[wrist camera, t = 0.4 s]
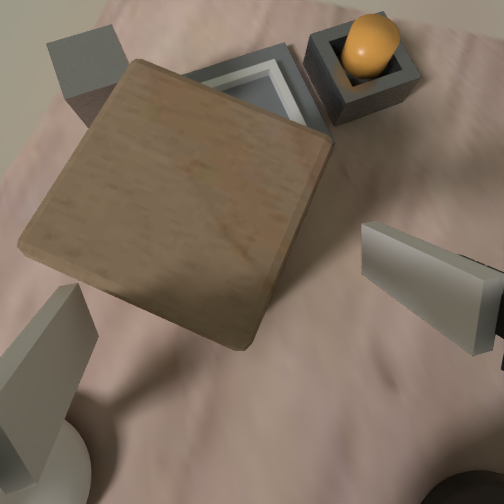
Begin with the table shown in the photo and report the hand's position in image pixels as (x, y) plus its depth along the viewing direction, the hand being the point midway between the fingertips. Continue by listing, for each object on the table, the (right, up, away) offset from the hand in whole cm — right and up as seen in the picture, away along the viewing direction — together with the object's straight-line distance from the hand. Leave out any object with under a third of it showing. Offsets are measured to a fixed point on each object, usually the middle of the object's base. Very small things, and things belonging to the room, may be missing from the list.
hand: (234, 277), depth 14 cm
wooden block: (-3, -1, +18) cm, 18 cm away
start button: (+13, +22, +19) cm, 32 cm away
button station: (+13, +22, +23) cm, 34 cm away
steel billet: (-12, +13, +20) cm, 27 cm away
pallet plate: (+1, +17, +21) cm, 27 cm away
